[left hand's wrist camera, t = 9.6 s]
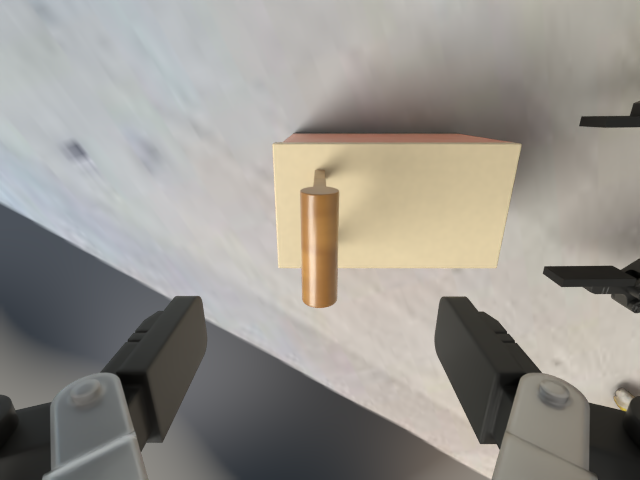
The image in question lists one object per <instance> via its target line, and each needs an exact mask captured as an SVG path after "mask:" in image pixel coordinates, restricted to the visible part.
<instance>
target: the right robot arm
mask: <svg viewBox="0 0 640 480" xmlns="http://www.w3.org/2000/svg"><path fill="white" fill-rule="evenodd" d="M579 126H586V127H604V128H608V127H640V101H638V102H636V103H634V104H633V107H632V110H631V114H630V116H584V117H581V121H580V125H579ZM543 274H544V275H546V276H547V277H548V278H550V279H551V280H553V281H554V282H555V283H557V284H558V285H559V286H561V287H584V288H585V289H587V290H588V291H590V292H591V293H594V294H611V297H612V299H614V300H615V301H617V302H618V303H620V304H621V305H623V306H624V307H626V308H628V309H629V310H631V311H632V312H634V313H640V259H638V260H636V261H635V262H633V263H631V264H630V265H628V266H627V267H625V268H623V269H622V270H619V269H617V268H615V267H613V266H546V267H544V271H543Z"/></svg>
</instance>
